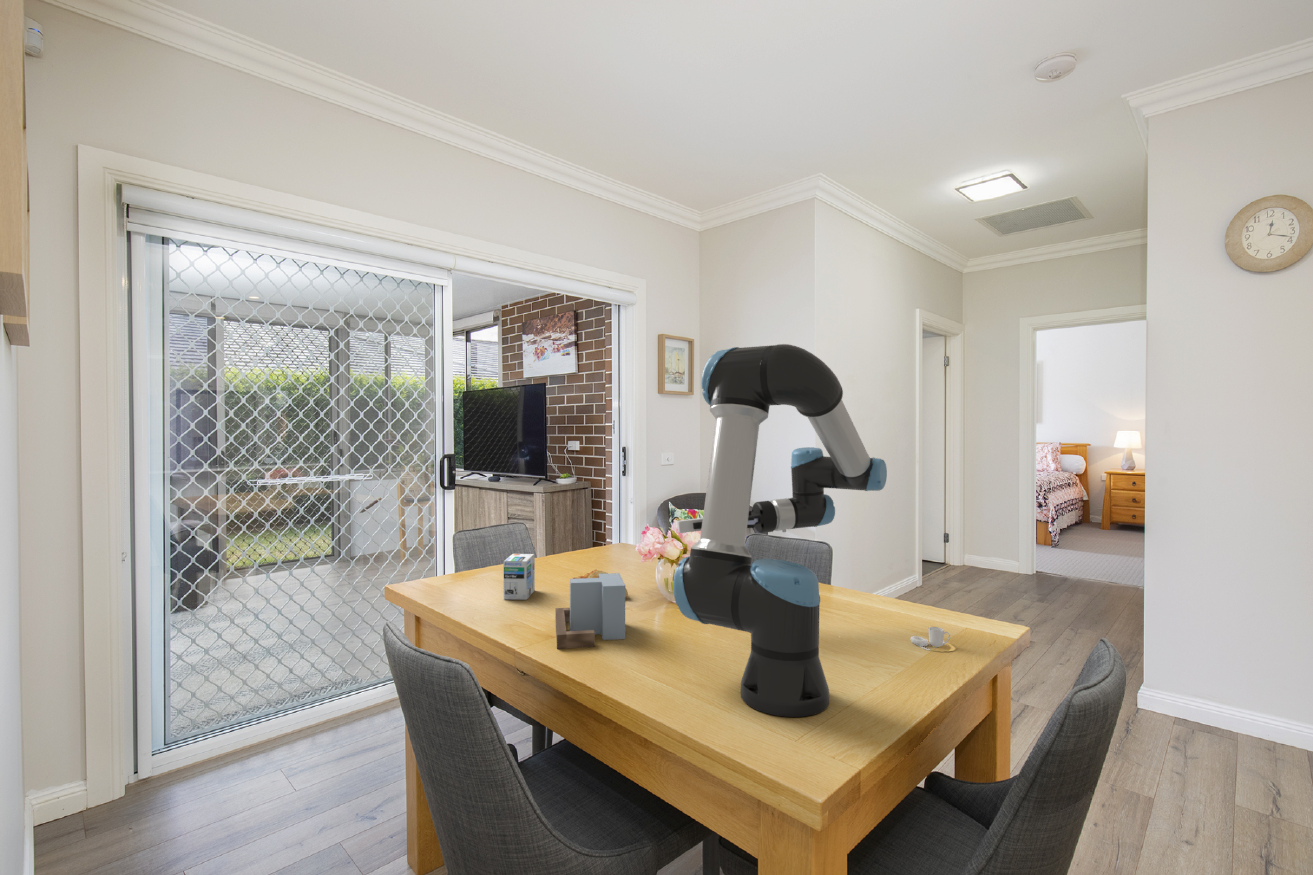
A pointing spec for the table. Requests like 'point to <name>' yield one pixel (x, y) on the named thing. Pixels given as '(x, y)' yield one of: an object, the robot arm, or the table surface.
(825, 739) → the table surface
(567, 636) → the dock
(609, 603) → the t block
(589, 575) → the croissant
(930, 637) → the teacup and saucer
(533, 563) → the light bulb box
